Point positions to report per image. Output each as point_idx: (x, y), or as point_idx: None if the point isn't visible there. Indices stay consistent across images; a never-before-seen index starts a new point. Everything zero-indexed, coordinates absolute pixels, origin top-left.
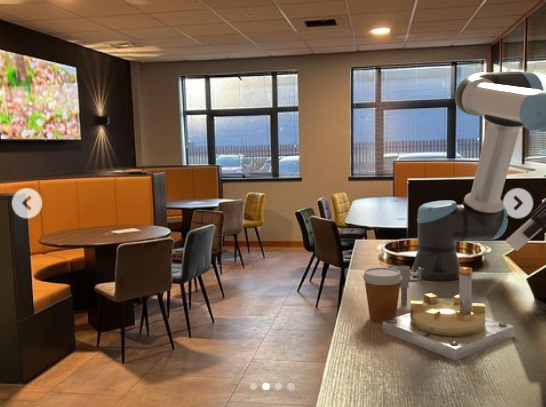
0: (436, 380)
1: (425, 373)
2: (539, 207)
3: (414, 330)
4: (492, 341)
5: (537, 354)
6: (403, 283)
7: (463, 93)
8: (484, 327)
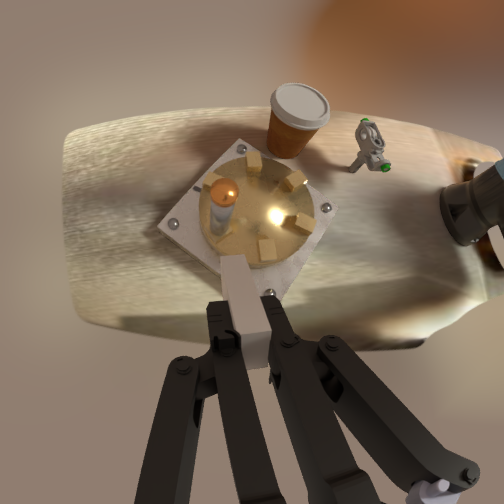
0: (104, 213)
1: (119, 200)
2: (342, 372)
3: None
4: None
5: (209, 339)
6: (361, 152)
7: None
8: None
